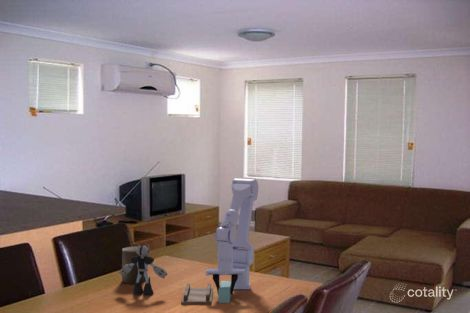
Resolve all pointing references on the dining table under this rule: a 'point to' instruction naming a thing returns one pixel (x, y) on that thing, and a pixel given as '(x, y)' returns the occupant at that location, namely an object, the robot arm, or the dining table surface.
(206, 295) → the cradle
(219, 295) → the tall teal pillar block
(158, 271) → the robot
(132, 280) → the pillar candle
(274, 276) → the dining table surface
